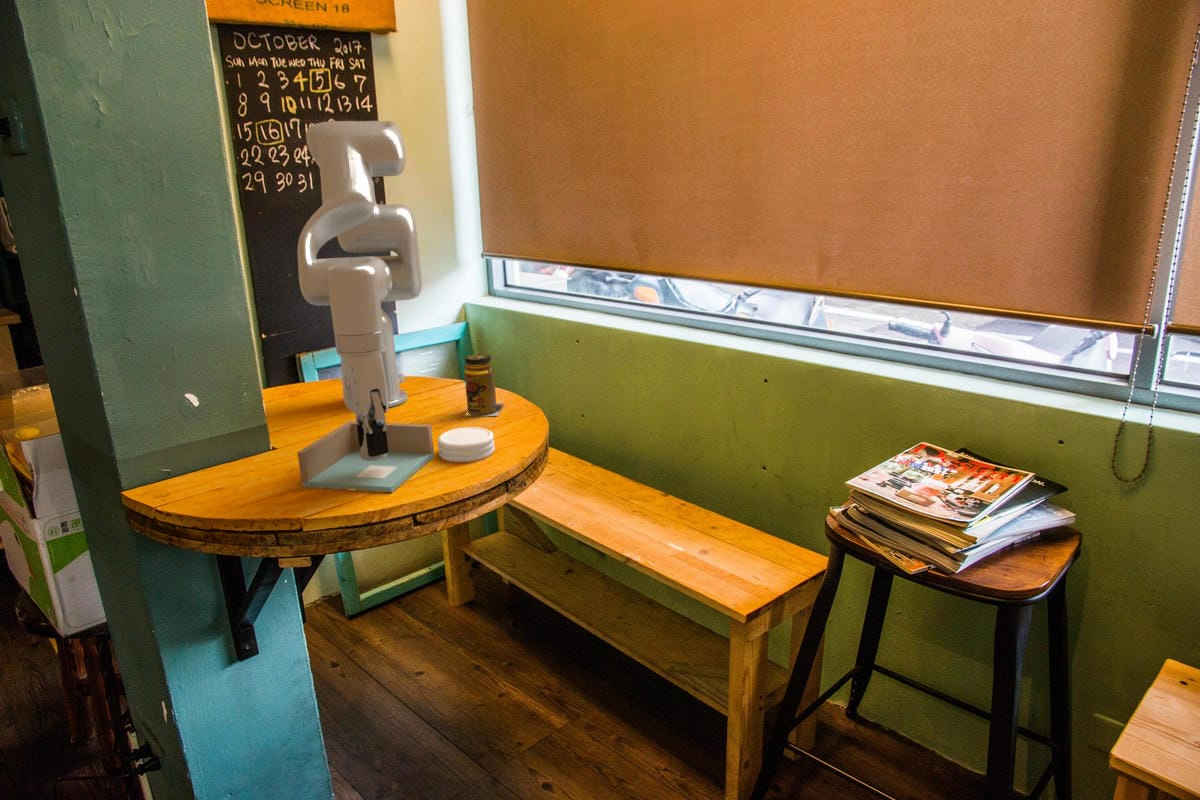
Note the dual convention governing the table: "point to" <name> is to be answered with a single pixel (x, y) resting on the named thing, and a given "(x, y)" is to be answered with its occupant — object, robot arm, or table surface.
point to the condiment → (480, 387)
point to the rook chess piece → (364, 447)
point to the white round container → (466, 444)
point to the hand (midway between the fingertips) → (373, 449)
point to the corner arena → (344, 468)
